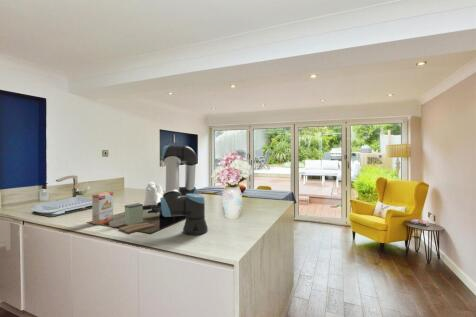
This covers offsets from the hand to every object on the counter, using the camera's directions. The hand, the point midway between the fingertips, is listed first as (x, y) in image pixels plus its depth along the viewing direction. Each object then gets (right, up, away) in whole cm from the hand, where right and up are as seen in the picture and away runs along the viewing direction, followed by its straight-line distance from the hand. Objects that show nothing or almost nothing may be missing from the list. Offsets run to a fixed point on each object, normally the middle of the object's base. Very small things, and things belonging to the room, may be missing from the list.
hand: (138, 211), depth 173 cm
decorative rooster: (0, -7, +39) cm, 39 cm away
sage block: (-2, -8, -3) cm, 8 cm away
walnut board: (+6, -8, -15) cm, 18 cm away
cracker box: (-25, -8, 0) cm, 26 cm away
